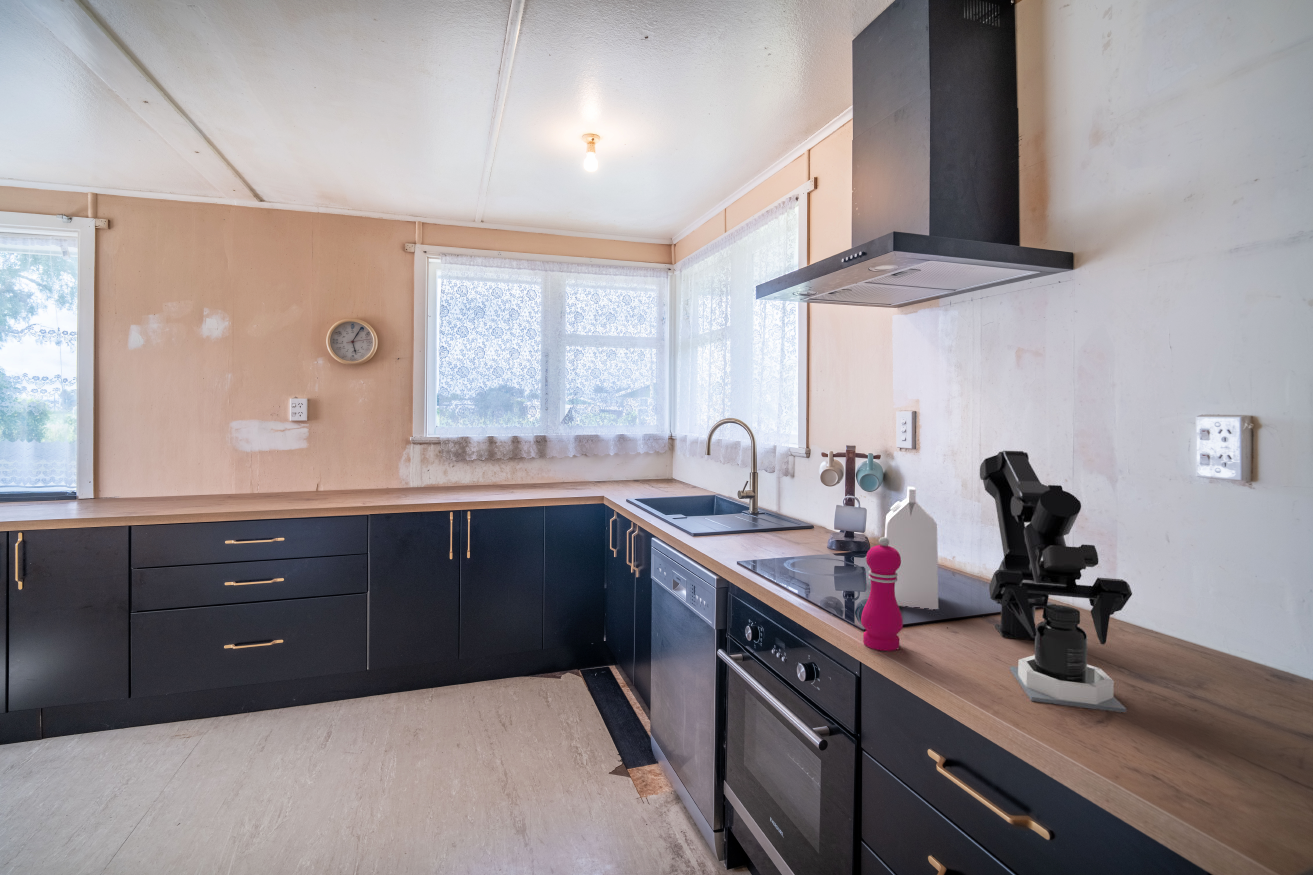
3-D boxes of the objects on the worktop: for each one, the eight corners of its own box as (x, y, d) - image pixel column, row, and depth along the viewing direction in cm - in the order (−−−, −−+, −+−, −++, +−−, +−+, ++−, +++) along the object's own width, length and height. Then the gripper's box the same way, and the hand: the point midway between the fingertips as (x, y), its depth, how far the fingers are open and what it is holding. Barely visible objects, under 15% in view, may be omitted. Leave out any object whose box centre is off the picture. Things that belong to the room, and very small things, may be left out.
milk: (938, 609, 135) (942, 492, 134) (882, 604, 139) (885, 489, 138) (932, 595, 147) (936, 486, 146) (881, 590, 150) (884, 484, 149)
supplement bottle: (1081, 680, 97) (1084, 605, 97) (1090, 698, 91) (1093, 618, 91) (1030, 672, 100) (1033, 599, 100) (1036, 688, 94) (1039, 611, 94)
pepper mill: (852, 640, 115) (854, 534, 115) (883, 636, 118) (886, 532, 117) (878, 654, 109) (881, 541, 108) (910, 649, 111) (914, 539, 111)
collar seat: (1009, 669, 103) (1010, 651, 103) (1093, 679, 99) (1093, 660, 99) (1031, 700, 91) (1032, 680, 91) (1126, 712, 88) (1127, 691, 88)
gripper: (995, 521, 101) (1011, 606, 91) (1129, 528, 96) (1161, 620, 86) (983, 558, 109) (996, 641, 99) (1106, 567, 104) (1133, 655, 93)
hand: (1068, 639), depth 94 cm, fingers open, 9 cm apart
